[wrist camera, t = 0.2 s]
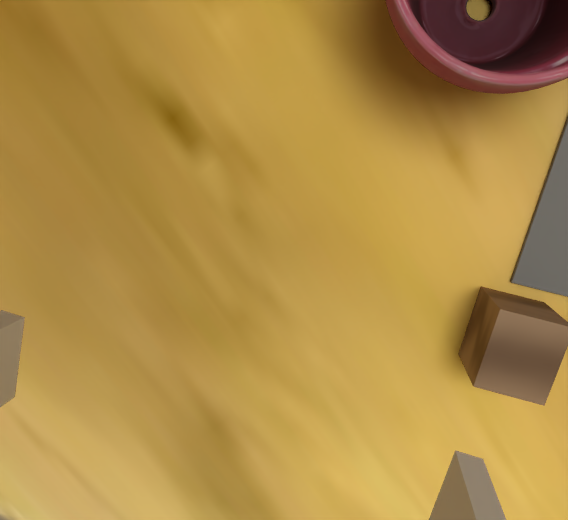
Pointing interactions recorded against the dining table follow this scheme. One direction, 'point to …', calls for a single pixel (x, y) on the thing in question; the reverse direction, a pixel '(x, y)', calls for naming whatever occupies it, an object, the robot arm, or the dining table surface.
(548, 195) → the mat
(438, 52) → the plant pot
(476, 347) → the brown block
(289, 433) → the dining table surface
